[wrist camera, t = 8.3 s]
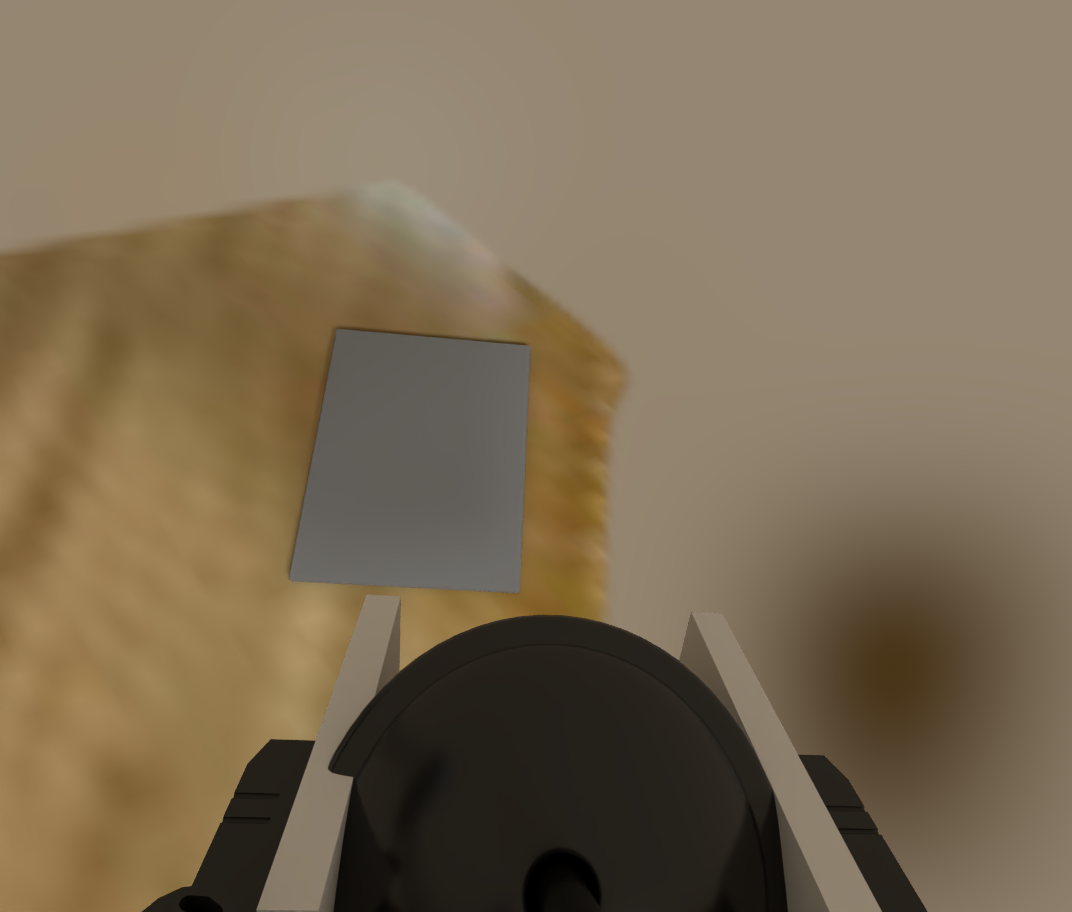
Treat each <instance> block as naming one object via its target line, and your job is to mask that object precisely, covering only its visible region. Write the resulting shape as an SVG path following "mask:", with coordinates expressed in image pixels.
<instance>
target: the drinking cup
mask: <svg viewBox="0 0 1072 912" xmlns="http://www.w3.org/2000/svg"><path fill="white" fill-rule="evenodd" d="M328 770H329V771H330V772H332V773H334V774H338V775H343V776H349V777H353V784H352V789H351V795H350V801H349V806H348V812H347V819H346V825H345V831H344V838H343V844H342V851H341V858H340V865H339V872H338V880H337V887H336V895H335V903H334V911H333V912H788V906H787V896H786V886H785V876H784V867H783V858H782V849H781V840H780V831H779V823H778V816H777V809H776V803H775V796H774V793H773V791H772V788H771V785H770V782H769V780H768V778H767V775H766V773H765V771H764V769H763V767H762V765H761V762H760V760H759V758H758V756H757V754H756V752H755V750H754V749H753V747H752V745H751V744H750V742H749V740H748V738H747V737H746V735H745V733H744V732H743V730H742V729H741V727H740V726H739V724H738V723H737V722H736V720H735V719H734V717H733V716H732V714H731V713H730V712H729V710H728V709H727V708H726V707H725V705H724V704H723V703H722V702H721V701H720V699H719V698H718V697H717V696H716V695H715V694H714V692H713V691H712V690H711V689H710V688H709V687H708V686H707V685H706V684H705V683H704V682H703V681H702V680H701V679H700V678H699V677H698V676H697V675H696V674H694V673H693V672H692V671H691V670H690V669H688V668H687V667H686V666H685V665H684V664H683V663H681V662H680V661H679V660H677V659H676V658H674V657H673V656H671V655H670V654H669V653H667V652H666V651H664V650H663V649H661V648H660V647H658V646H656V645H654V644H652V643H651V642H649V641H647V640H645V639H643V638H642V637H639V636H637V635H635V634H633V633H630V632H628V631H626V630H623V629H621V628H618V627H615V626H612V625H609V624H606V623H602V622H599V621H594V620H590V619H585V618H580V617H571V616H562V615H533V616H521V617H514V618H509V619H503V620H499V621H495V622H491V623H488V624H484V625H481V626H478V627H475V628H472V629H470V630H467V631H465V632H462V633H460V634H458V635H455V636H453V637H451V638H450V639H448V640H446V641H444V642H442V643H440V644H438V645H436V646H435V647H433V648H432V649H430V650H428V651H427V652H425V653H424V654H422V655H421V656H419V657H418V658H416V659H415V660H414V661H412V662H411V663H410V664H409V665H407V666H406V667H405V668H403V669H402V670H401V671H400V672H399V673H397V674H396V675H395V676H394V677H393V678H392V679H391V680H390V681H389V682H388V683H387V684H386V685H385V686H384V687H383V688H382V689H381V690H380V691H379V692H378V693H377V694H376V695H375V696H374V697H373V699H372V700H371V701H370V702H369V703H368V704H367V705H366V707H365V708H364V709H363V710H362V712H361V713H360V714H359V716H358V717H357V718H356V720H355V721H354V722H353V724H352V725H351V726H350V728H349V729H348V731H347V732H346V734H345V736H344V737H343V739H342V741H341V742H340V744H339V745H338V747H337V749H336V750H335V752H334V754H333V756H332V758H331V760H330V762H329V766H328Z"/></svg>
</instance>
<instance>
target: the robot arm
mask: <svg viewBox="0 0 1072 912" xmlns="http://www.w3.org/2000/svg"><path fill="white" fill-rule="evenodd" d="M400 608H401V596H382V595H367V596H366V598H365V601H364V604H363V607H362V610H361V613H360V616H359V618H358V621H357V624H356V627H355V630H354V633H353V636H352V638H351V641H350V644H349V647H348V650H347V653H346V655H345V658H344V661H343V664H342V667H341V670H340V673H339V675H338V678H337V681H336V684H335V687H334V690H333V693H332V695H331V698H330V701H329V704H328V707H327V710H326V713H325V715H324V718H323V721H322V724H321V727H320V730H319V733H318V735H317V738H316V741H307V740H275V739H271V740H270V741H269V742H268V743H267V744H266V745H265V746H264V747H263V748H262V749H261V750H260V751H259V752H258V753H257V754H256V755H255V756H254V758H253V759H252V760H251V761H250V762H249V763H248V764H247V766H246V768H245V771H244V773H243V775H242V777H241V779H240V782H239V784H238V786H237V788H236V790H235V793H234V798H232V799H231V801H230V803H229V806H228V808H227V810H226V812H225V814H224V817H223V822H222V823H220V825H219V827H218V830H217V832H216V834H215V836H214V838H213V841H212V843H211V845H210V847H209V849H208V852H207V854H206V856H205V858H204V860H203V862H202V865H201V867H200V869H199V871H198V873H197V876H196V878H195V880H194V882H193V884H192V886H189V887H182V888H180V889H177V890H175V891H173V892H171V893H169V894H167V895H165V896H162V897H160V898H158V899H157V900H156V901H155V902H153V903H152V904H151V905H150V906H148V907H147V908H146V909H145V910H143V911H142V912H333V911H334V903H335V895H336V887H337V880H338V872H339V865H340V858H341V851H342V844H343V838H344V831H345V825H346V819H347V812H348V806H349V801H350V795H351V789H352V784H353V777H349V776H343V775H338V774H334V773H332V772H330V771H329V770H328V766H329V762H330V760H331V758H332V756H333V754H334V752H335V750H336V749H337V747H338V745H339V744H340V742H341V741H342V739H343V737H344V736H345V734H346V732H347V731H348V729H349V728H350V726H351V725H352V724H353V722H354V721H355V720H356V718H357V717H358V716H359V714H360V713H361V712H362V710H363V709H364V708H365V707H366V705H367V704H368V703H369V702H370V701H371V700H372V699H373V697H374V696H375V695H376V694H377V693H378V692H379V691H380V690H381V689H382V688H383V687H384V686H385V685H386V684H387V683H388V682H389V681H390V680H391V679H392V678H393V677H394V676H395V675H396V674H397V673H399V663H400ZM679 661H680V662H681V663H683V664H684V665H685V666H686V667H687V668H688V669H690V670H691V671H692V672H693V673H694V674H696V675H697V676H698V677H699V678H700V679H701V680H702V681H703V682H704V683H705V684H706V685H707V686H708V687H709V688H710V689H711V690H712V691H713V692H714V694H715V695H716V696H717V697H718V698H719V699H720V701H721V702H722V703H723V704H724V705H725V707H726V708H727V709H728V710H729V712H730V713H731V714H732V716H733V717H734V719H735V720H736V722H737V723H738V724H739V726H740V727H741V729H742V730H743V732H744V733H745V735H746V737H747V738H748V740H749V742H750V744H751V745H752V747H753V749H754V750H755V752H756V754H757V756H758V758H759V760H760V762H761V765H762V767H763V769H764V771H765V773H766V775H767V778H768V780H769V782H770V785H771V788H772V791H773V793H774V796H775V803H776V809H777V816H778V823H779V831H780V840H781V849H782V858H783V867H784V876H785V886H786V896H787V906H788V912H927V910H926V908H925V907H924V905H923V903H922V902H921V900H920V898H919V897H918V895H917V893H916V892H915V890H914V888H913V887H912V885H911V884H910V882H909V880H908V878H907V877H906V875H905V874H904V872H903V870H902V869H901V867H900V865H899V863H898V862H897V860H896V859H895V857H894V855H893V854H892V852H891V851H890V849H889V847H888V845H887V844H886V842H885V840H884V839H883V837H882V835H879V834H878V829H877V827H876V825H875V824H874V822H873V820H872V819H871V817H870V815H869V814H868V812H865V810H864V805H863V804H862V802H861V800H860V799H859V797H858V795H857V794H856V792H855V790H854V789H853V787H852V785H851V784H850V782H849V780H848V779H847V778H846V777H845V776H844V775H843V774H842V773H841V772H840V771H839V770H838V769H837V768H836V767H835V766H834V765H833V764H832V763H831V762H830V761H829V760H828V759H827V758H826V757H825V756H820V755H798V754H797V752H796V750H795V749H794V747H793V745H792V743H791V741H790V740H789V737H788V736H787V734H786V732H785V730H784V728H783V727H782V724H781V723H780V721H779V719H778V717H777V715H776V713H775V711H774V709H773V708H772V706H771V704H770V702H769V700H768V698H767V696H766V695H765V693H764V691H763V689H762V687H761V685H760V683H759V681H758V680H757V678H756V676H755V674H754V672H753V670H752V668H751V667H750V665H749V663H748V661H747V659H746V657H745V655H744V654H743V652H742V650H741V648H740V646H739V644H738V642H737V641H736V639H735V637H734V635H733V633H732V631H731V629H730V627H729V625H728V624H727V622H726V620H725V618H724V616H723V614H722V613H703V612H691V615H690V619H689V623H688V627H687V631H686V636H685V639H684V644H683V648H682V652H681V656H680V660H679Z"/></svg>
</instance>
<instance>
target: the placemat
mask: <svg viewBox="0 0 1072 912" xmlns="http://www.w3.org/2000/svg"><path fill="white" fill-rule="evenodd" d="M529 368H530V346H527V345H516V344H504V343H493V342H482V341H470V340H459V339H448V338H436V337H425V336H414V335H402V334H391V333H380V332H368V331H357V330H346V329H337V332H336V337H335V342H334V347H333V353H332V358H331V363H330V368H329V373H328V379H327V384H326V389H325V394H324V399H323V405H322V410H321V415H320V420H319V425H318V431H317V436H316V441H315V446H314V451H313V456H312V462H311V467H310V472H309V477H308V482H307V488H306V493H305V498H304V503H303V508H302V514H301V519H300V524H299V529H298V534H297V540H296V545H295V550H294V555H293V560H292V565H291V571H290V576H289V580H291V581H298V582H317V583H336V584H355V585H374V586H393V587H412V588H430V589H449V590H468V591H487V592H506V593H519V592H520V570H521V548H522V525H523V503H524V480H525V458H526V436H527V413H528V391H529Z"/></svg>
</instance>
